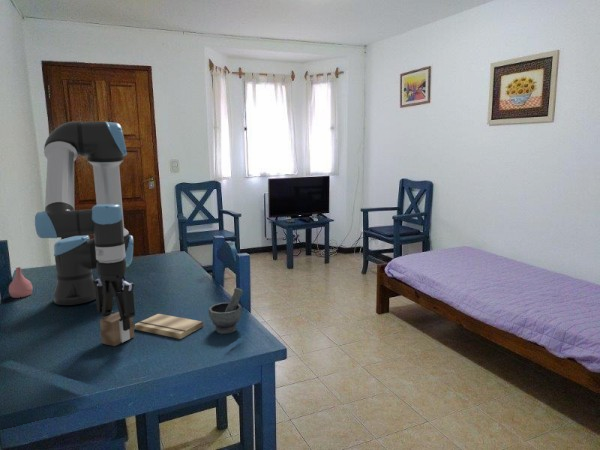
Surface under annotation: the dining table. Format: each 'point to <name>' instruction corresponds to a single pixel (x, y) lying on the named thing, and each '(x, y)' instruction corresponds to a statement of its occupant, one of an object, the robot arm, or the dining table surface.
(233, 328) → the mortar and pestle
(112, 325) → the wooden block
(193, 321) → the plank
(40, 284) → the dining table surface
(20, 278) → the pink teardrop-shaped piece
